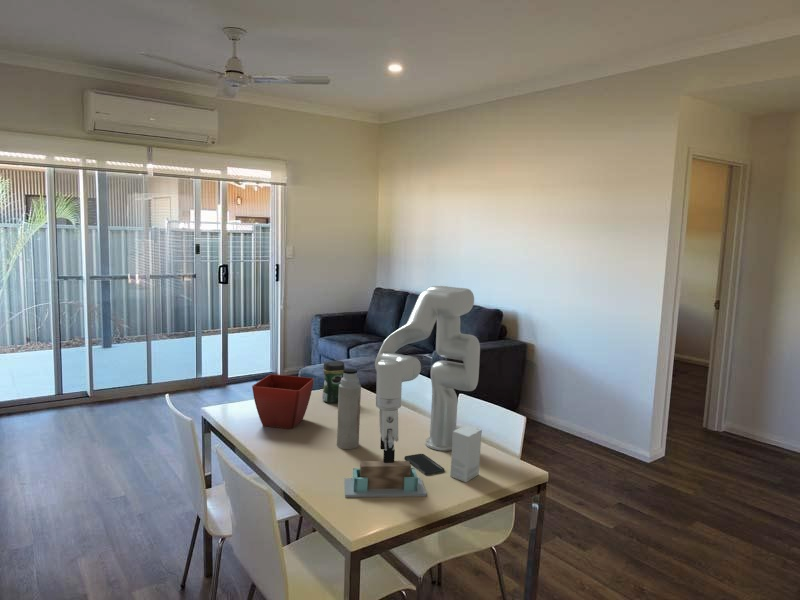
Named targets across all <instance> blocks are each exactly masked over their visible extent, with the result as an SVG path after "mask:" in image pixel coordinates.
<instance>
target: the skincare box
mask: <svg viewBox="0 0 800 600" xmlns="http://www.w3.org/2000/svg"><path fill="white" fill-rule="evenodd" d="M482 432H483V430H482V429H481V428H478V427H474V426H471V425H467V424H465V425H463V426H461V427H459V428H456V430H455V431H453V441H452V450H451V456H450V457H451V459H450V473H449V474H450V475H449V476H450V478H453V479H455V480H458V481H461V482H464V483H468V482H469V481H470V480H473V479H474V478H476V477H478V476H479V475H480V474H479V473H480V459H481V446H482V435H483V434H482Z"/></svg>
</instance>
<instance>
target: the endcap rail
mask: <svg viewBox="0 0 800 600" xmlns="http://www.w3.org/2000/svg"><path fill="white" fill-rule="evenodd" d="M343 482H344V483H343V485H344V497H345V498H386V497H387V498H390V497H391V498H392V497H396V498H397V497H398V498H399V497H404V498H406V497H427V491H426V489H425V486H424V483H423V480H422V478H421V477H418V475H417V471H416V468H415V467H411V476H410V477H404V488H400V489H367V485H368V477H360V467H358V468H357V467H356V468H355V467H354V468H352V478H350V477H348V478H347V477H346V478H344V479H343Z"/></svg>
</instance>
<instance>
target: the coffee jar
mask: <svg viewBox="0 0 800 600" xmlns="http://www.w3.org/2000/svg"><path fill="white" fill-rule="evenodd" d="M344 369H346V368H345V363H344V361H343V360H330V361H329V360H328V361H324V363H323V368H322V370H323V374H324V380H323V381H324V382H323V389H322V390H323V391H322V401H323V402H325V403H329V404H331V403H332V404H333V403H334V404H336V403H338V393H339V384H341V382H340V381H341V378H343V375H344V372H343V370H344Z"/></svg>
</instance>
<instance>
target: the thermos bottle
mask: <svg viewBox="0 0 800 600" xmlns="http://www.w3.org/2000/svg"><path fill="white" fill-rule="evenodd" d="M343 372H344V374H343V378H341V381H340V382H341V384H339V393H338V402H337V429H336V431H337V432H336V446H337V448H339V449H344V450H353V449H357V448H359V445H360V444H359V443H360V422H361V421H360V419H361V399H362V398H361V397H362V395H361V394H362V393H361V392H362V385H361V384H360V379H359V378H360V377H358V373H357V372H358V370H357V369H355V368H345V369H344V370H343Z"/></svg>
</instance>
